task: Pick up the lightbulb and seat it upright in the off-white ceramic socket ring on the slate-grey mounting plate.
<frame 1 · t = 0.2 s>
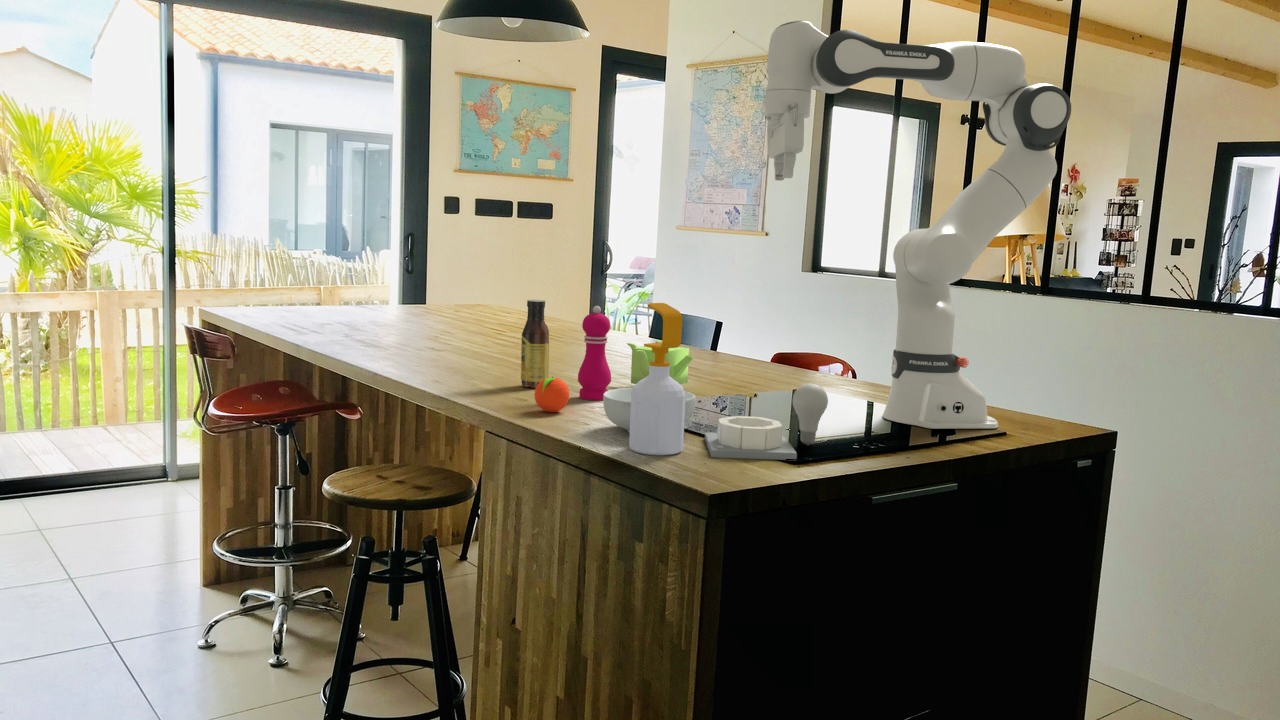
hand: (783, 179, 193), 47 cm above the table, fingers open, 8 cm apart
kettle: (656, 389, 227), on the table
socket ring: (749, 432, 167), point 3 cm above the table
soap bottle: (655, 451, 164), on the table
pepper mill: (593, 399, 211), on the table
clementine: (550, 413, 193), on the table
mounting plate: (748, 449, 167), on the table
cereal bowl: (647, 432, 179), on the table
sauce bottle: (534, 387, 223), on the table
lightbulb: (807, 446, 172), on the table
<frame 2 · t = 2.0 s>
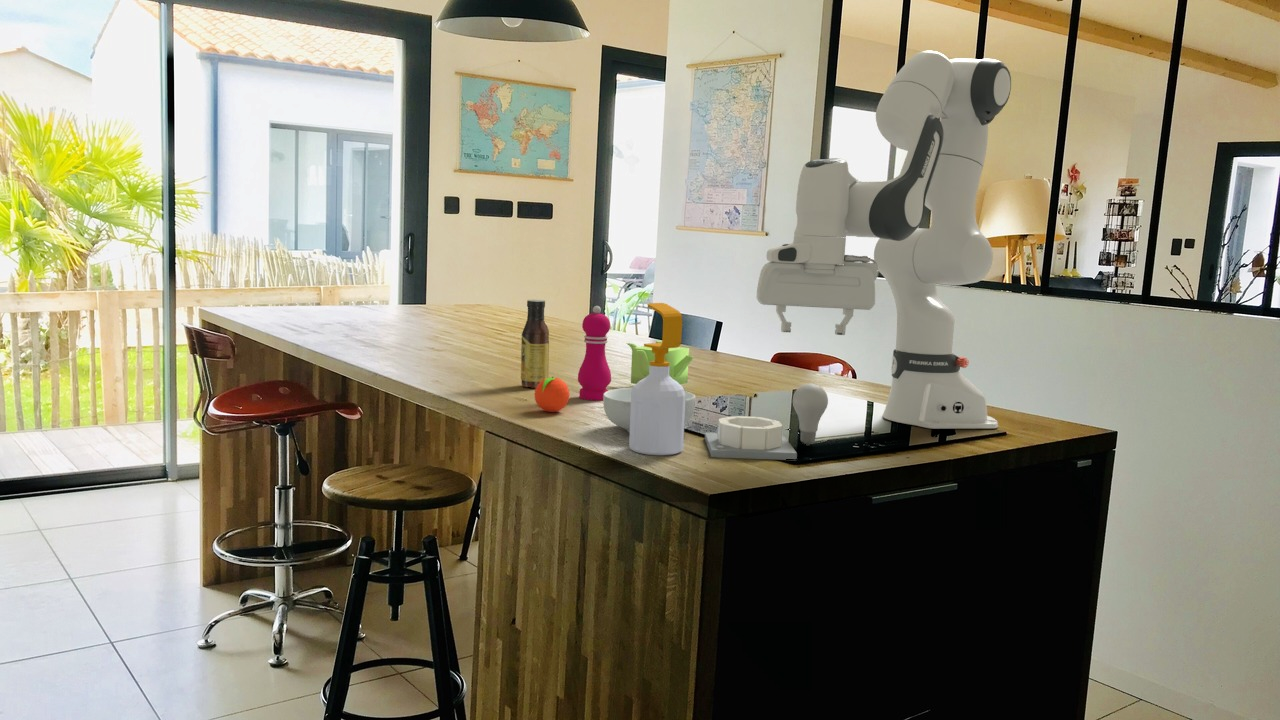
hand: (812, 333, 170), 20 cm above the table, fingers open, 8 cm apart
nothing on the table moved.
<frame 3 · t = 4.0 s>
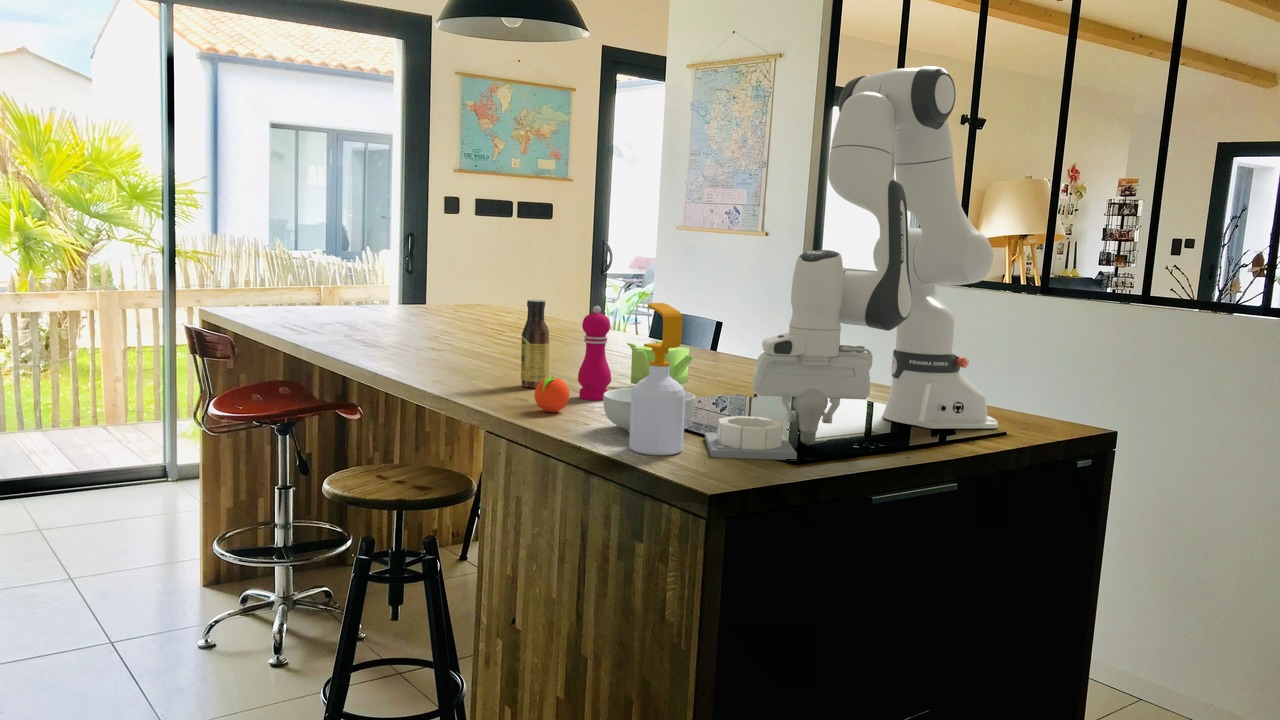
hand: (808, 422, 172), 4 cm above the table, fingers closed on lightbulb, 5 cm apart
lightbulb: (807, 446, 172), on the table, touching gripper
everything else where it was.
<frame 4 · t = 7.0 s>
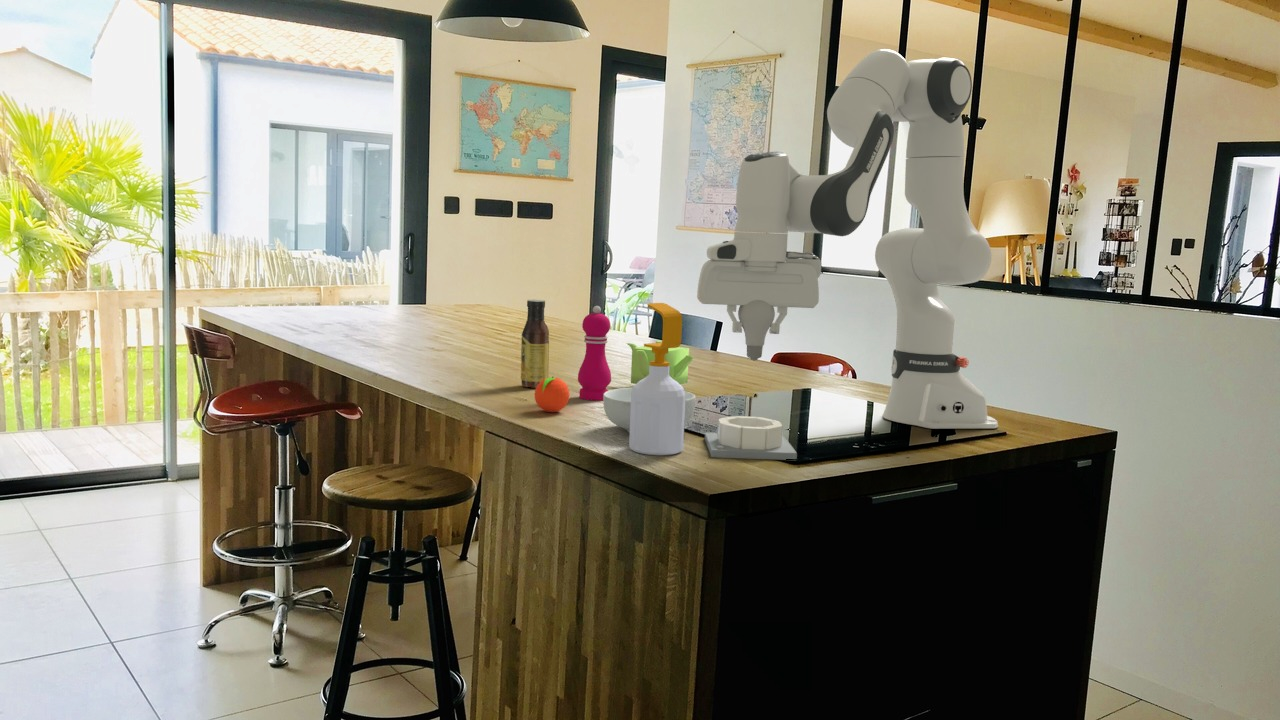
hand: (755, 332, 165), 20 cm above the table, fingers closed on lightbulb, 5 cm apart
lightbulb: (753, 361, 165), point 15 cm above the table, touching gripper
everything else where it was.
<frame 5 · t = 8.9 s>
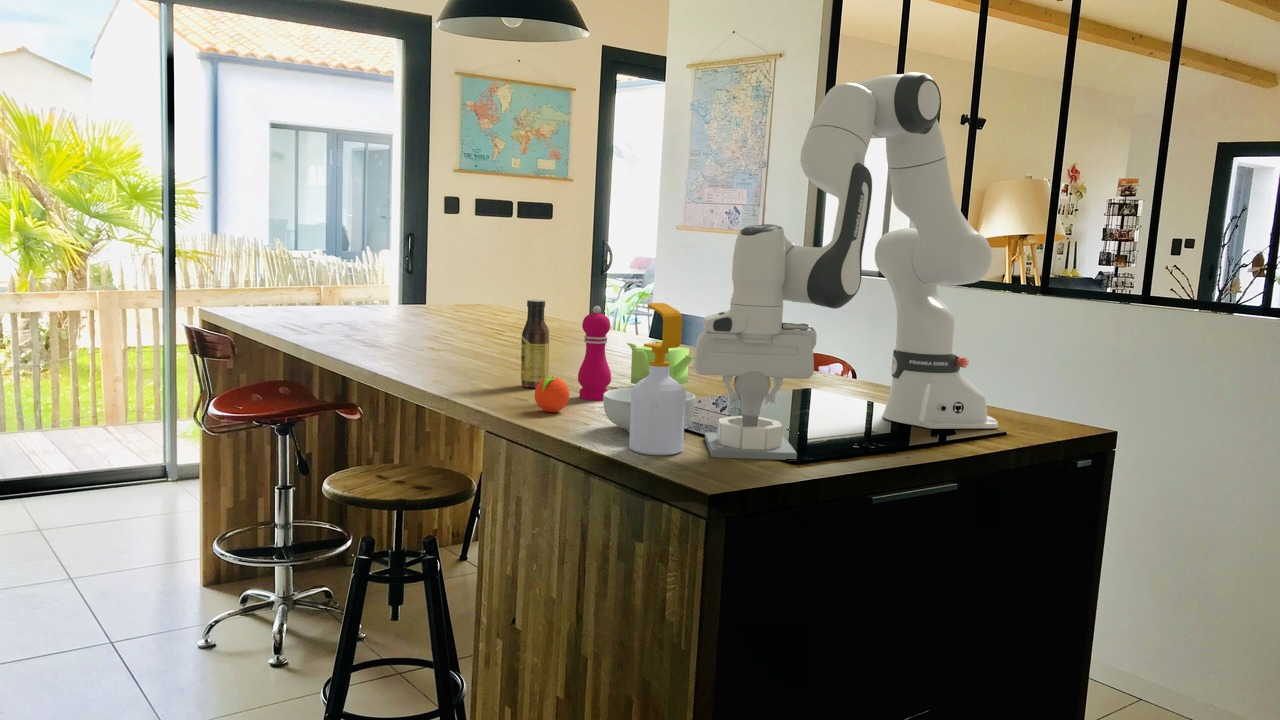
hand: (751, 402, 166), 8 cm above the table, fingers closed on lightbulb, 5 cm apart
lightbulb: (749, 430, 167), point 3 cm above the table, touching gripper
everything else where it was.
when the fingers open (7 cm above the table, at t = 10.1 s): lightbulb moves 3 cm, resting on mounting plate.
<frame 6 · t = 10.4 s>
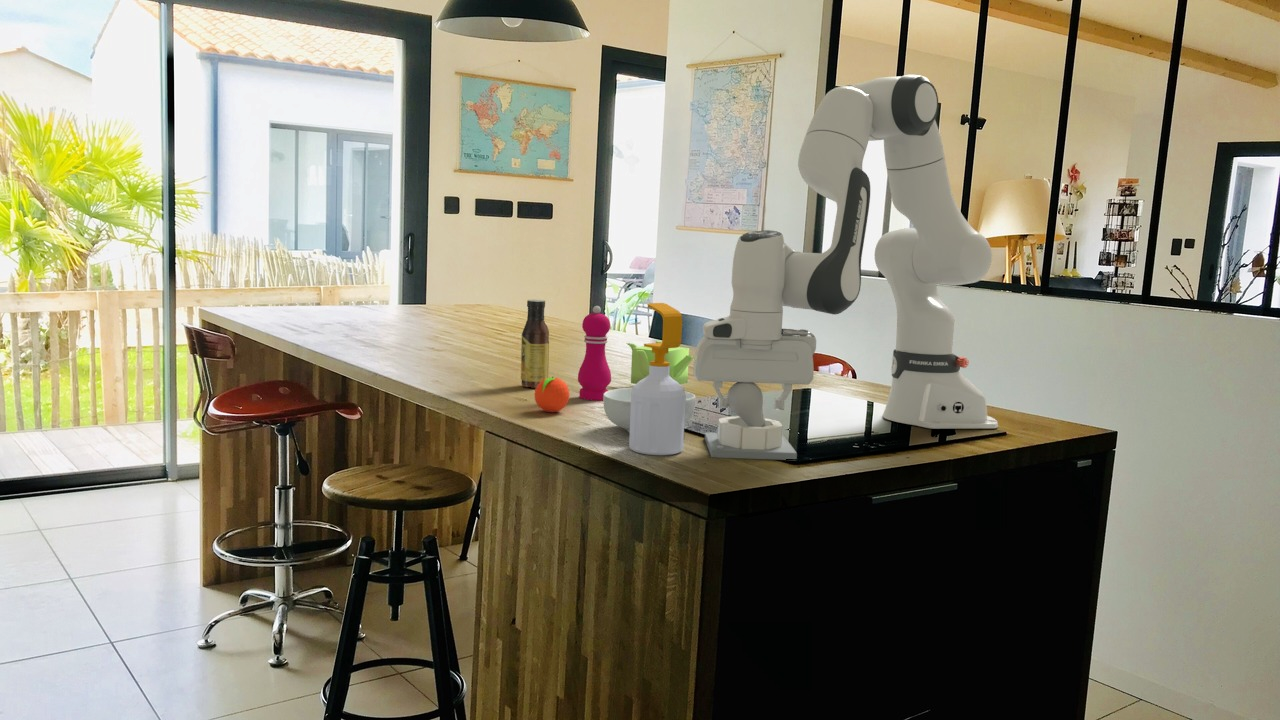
hand: (751, 408, 166), 7 cm above the table, fingers open, 8 cm apart
lightbulb: (764, 440, 167), point 2 cm above the table, touching gripper, mounting plate
everything else where it was.
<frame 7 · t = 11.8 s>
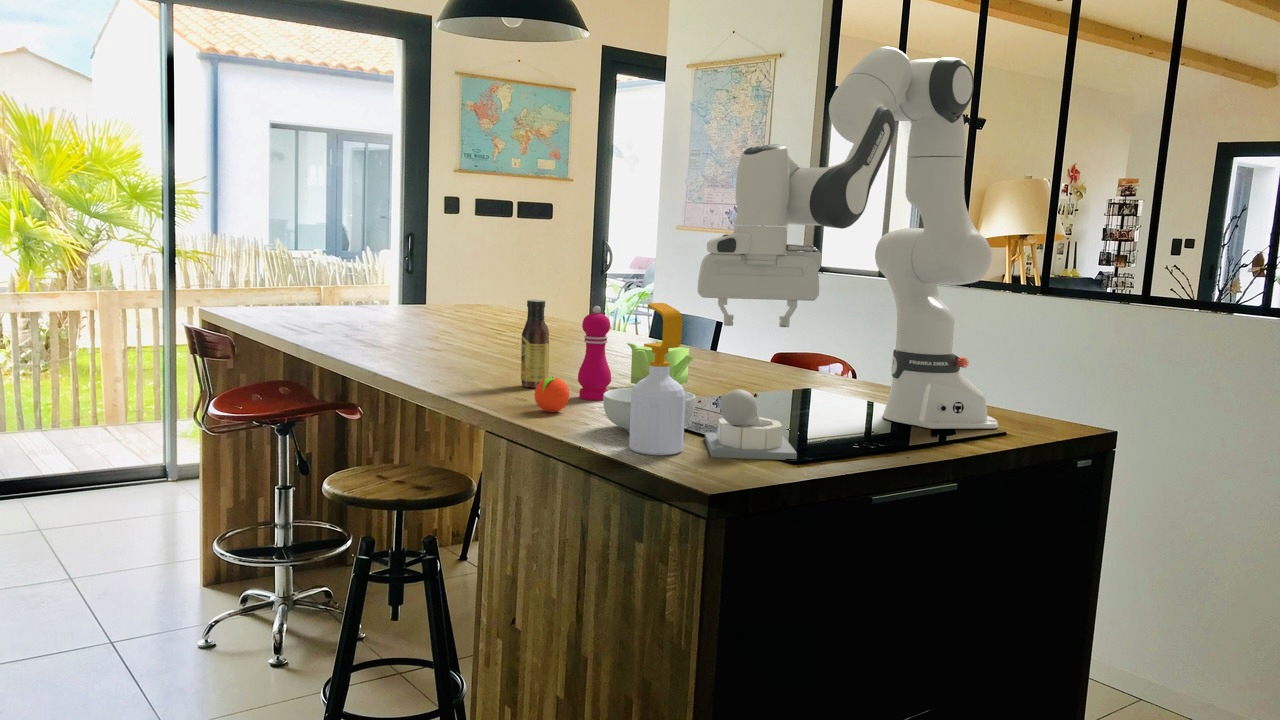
hand: (756, 326, 164), 21 cm above the table, fingers open, 8 cm apart
lightbulb: (762, 438, 167), point 2 cm above the table, touching mounting plate, socket ring
everything else where it was.
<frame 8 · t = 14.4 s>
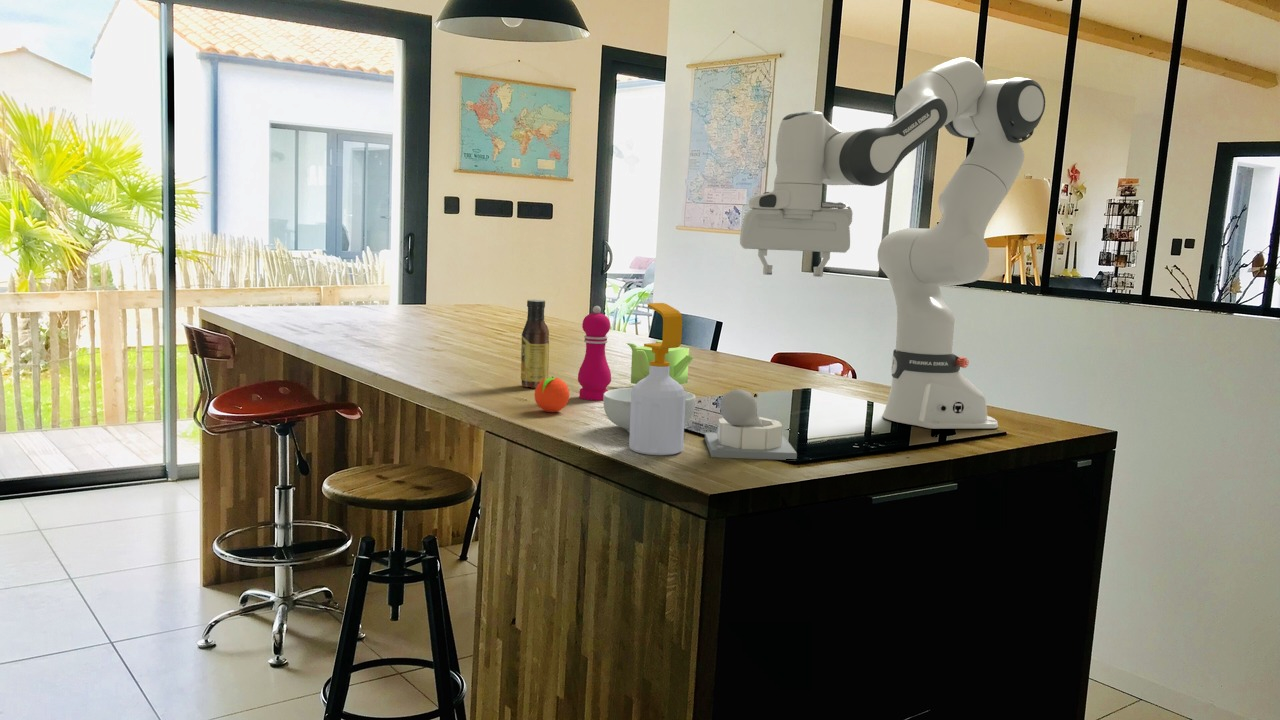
hand: (792, 275, 182), 29 cm above the table, fingers open, 8 cm apart
nothing on the table moved.
at the end: lightbulb 2.3 cm from the socket ring (horizontally); lightbulb point 1.9 cm above the table; the gripper is holding nothing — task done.
